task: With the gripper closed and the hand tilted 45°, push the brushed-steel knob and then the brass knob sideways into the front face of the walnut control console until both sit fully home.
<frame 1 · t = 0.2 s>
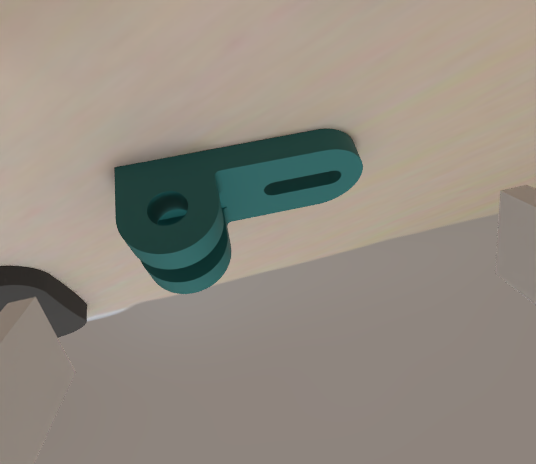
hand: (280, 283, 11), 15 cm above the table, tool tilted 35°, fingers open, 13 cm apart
bracket: (243, 169, 31), on the table
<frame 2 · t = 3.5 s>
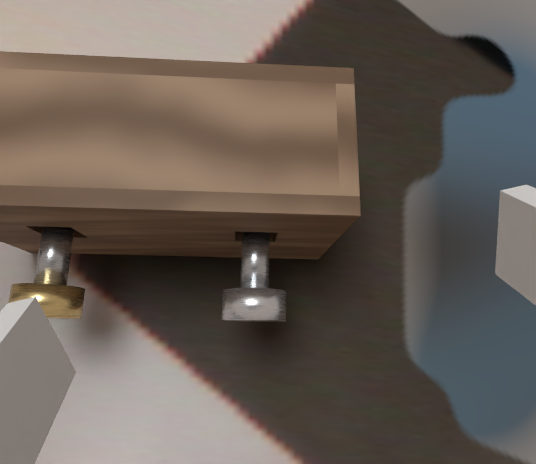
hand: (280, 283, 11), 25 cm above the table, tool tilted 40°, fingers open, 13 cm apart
console: (180, 204, 37), on the table
brass knob: (52, 269, 27), point 8 cm above the table, slide at 3.5 cm
steel knob: (254, 274, 28), point 8 cm above the table, slide at 3.5 cm
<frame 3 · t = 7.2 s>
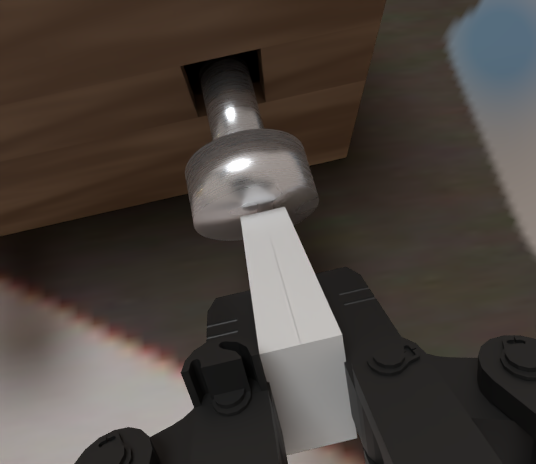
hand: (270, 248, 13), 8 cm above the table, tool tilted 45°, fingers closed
console: (122, 135, 25), on the table
steel knob: (239, 139, 15), point 8 cm above the table, slide at 3.3 cm, touching gripper
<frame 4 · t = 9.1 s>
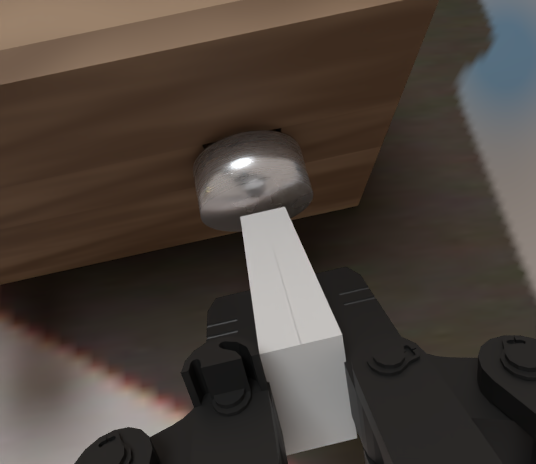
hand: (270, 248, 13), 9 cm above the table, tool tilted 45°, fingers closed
console: (137, 179, 25), on the table
steel knob: (242, 139, 16), point 8 cm above the table, slide at -0.1 cm
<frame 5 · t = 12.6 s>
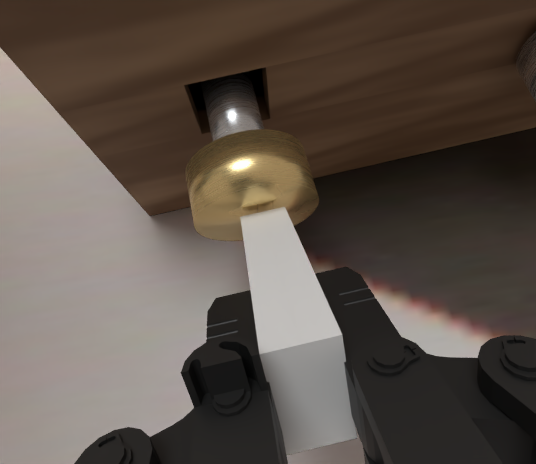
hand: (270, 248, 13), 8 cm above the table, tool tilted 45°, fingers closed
console: (342, 98, 25), on the table
brass knob: (239, 139, 15), point 8 cm above the table, slide at 2.5 cm, touching gripper
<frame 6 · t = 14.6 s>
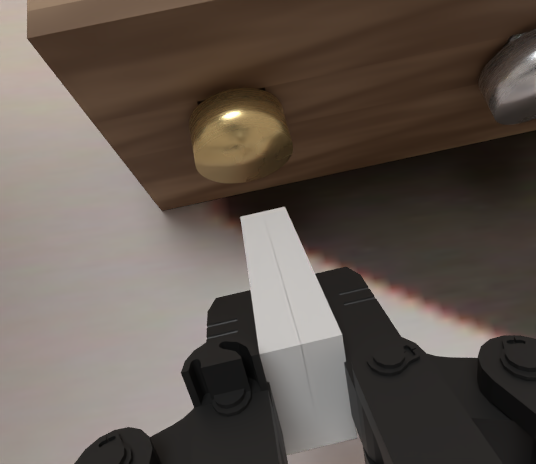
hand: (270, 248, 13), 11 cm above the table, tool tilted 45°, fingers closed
console: (334, 108, 28), on the table
brass knob: (232, 101, 19), point 8 cm above the table, slide at -0.1 cm
steel knob: (516, 41, 19), point 8 cm above the table, slide at -0.1 cm
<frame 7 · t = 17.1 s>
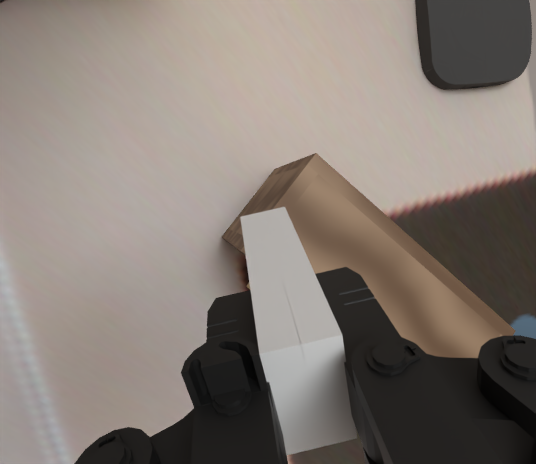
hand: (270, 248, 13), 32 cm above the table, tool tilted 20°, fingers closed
console: (330, 269, 48), on the table
media streaming box: (464, 31, 51), on the table
brass knob: (284, 273, 38), point 8 cm above the table, slide at -0.1 cm
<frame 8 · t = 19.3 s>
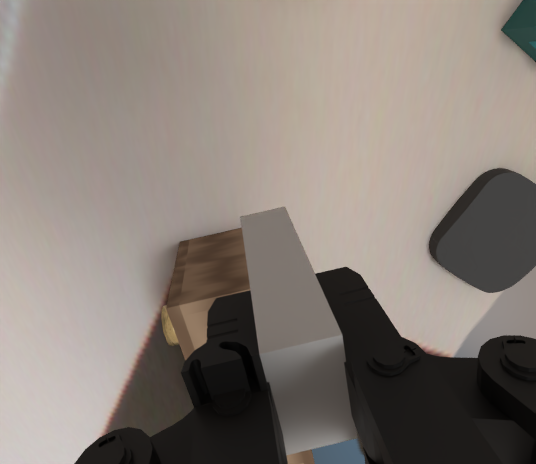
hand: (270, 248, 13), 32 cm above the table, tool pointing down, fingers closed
console: (243, 317, 53), on the table
media streaming box: (489, 229, 53), on the table
brass knob: (196, 318, 43), point 8 cm above the table, slide at -0.1 cm
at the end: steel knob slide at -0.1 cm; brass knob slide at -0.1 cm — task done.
